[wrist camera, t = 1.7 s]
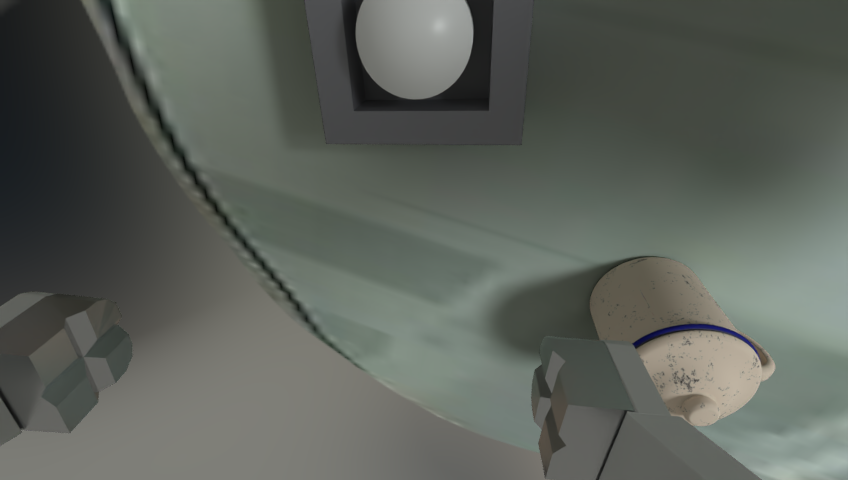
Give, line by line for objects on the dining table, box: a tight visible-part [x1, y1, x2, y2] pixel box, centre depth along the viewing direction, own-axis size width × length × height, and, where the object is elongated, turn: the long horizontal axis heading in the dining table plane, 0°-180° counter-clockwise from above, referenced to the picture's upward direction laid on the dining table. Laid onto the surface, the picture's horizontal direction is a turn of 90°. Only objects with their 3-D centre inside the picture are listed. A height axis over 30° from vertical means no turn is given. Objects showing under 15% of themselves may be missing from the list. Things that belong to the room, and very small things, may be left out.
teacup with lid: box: [590, 257, 775, 426], centre depth 31 cm, size 12×9×12 cm
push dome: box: [356, 0, 474, 99], centre depth 23 cm, size 6×6×3 cm
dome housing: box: [304, 0, 534, 145], centre depth 25 cm, size 12×12×5 cm
